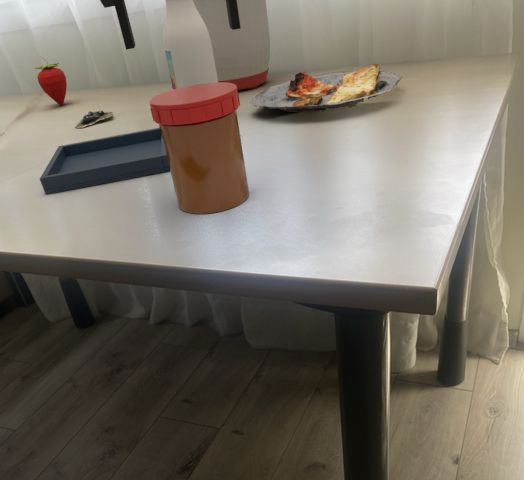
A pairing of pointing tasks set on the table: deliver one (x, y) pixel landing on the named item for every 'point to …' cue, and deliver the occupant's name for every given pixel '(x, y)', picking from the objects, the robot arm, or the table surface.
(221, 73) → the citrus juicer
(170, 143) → the jar
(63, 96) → the strawberry
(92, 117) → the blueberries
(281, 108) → the food plate
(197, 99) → the lid
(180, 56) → the milk bottle
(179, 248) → the table surface
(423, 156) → the table surface
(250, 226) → the table surface
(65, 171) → the tray
